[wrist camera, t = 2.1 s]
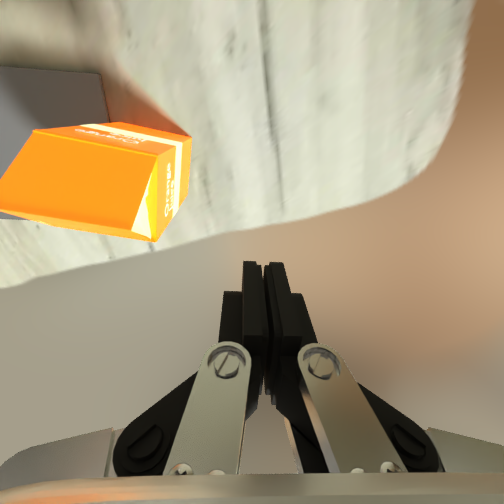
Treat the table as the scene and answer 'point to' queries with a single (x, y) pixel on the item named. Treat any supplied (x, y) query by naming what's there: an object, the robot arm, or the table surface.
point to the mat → (44, 107)
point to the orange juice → (100, 179)
